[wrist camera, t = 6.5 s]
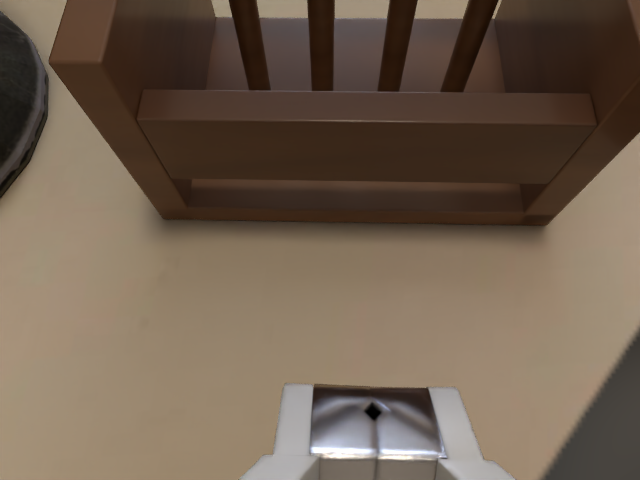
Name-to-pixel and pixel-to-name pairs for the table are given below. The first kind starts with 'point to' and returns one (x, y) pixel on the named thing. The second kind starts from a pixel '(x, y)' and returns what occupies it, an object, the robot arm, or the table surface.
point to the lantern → (19, 100)
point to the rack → (357, 106)
